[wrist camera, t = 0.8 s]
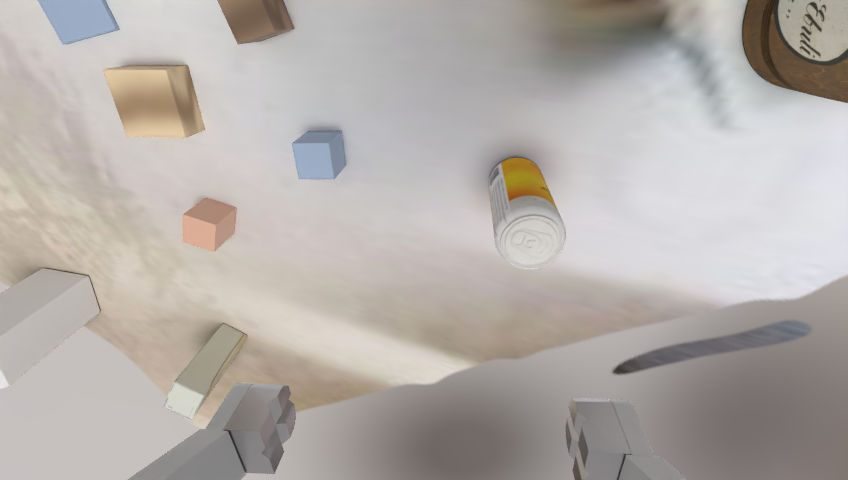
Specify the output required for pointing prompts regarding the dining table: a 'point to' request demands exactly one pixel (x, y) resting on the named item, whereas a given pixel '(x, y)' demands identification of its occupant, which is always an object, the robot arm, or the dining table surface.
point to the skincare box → (204, 372)
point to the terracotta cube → (209, 224)
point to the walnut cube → (256, 19)
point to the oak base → (155, 100)
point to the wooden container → (800, 45)
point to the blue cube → (319, 154)
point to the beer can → (524, 215)
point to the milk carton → (41, 318)
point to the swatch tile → (79, 18)
